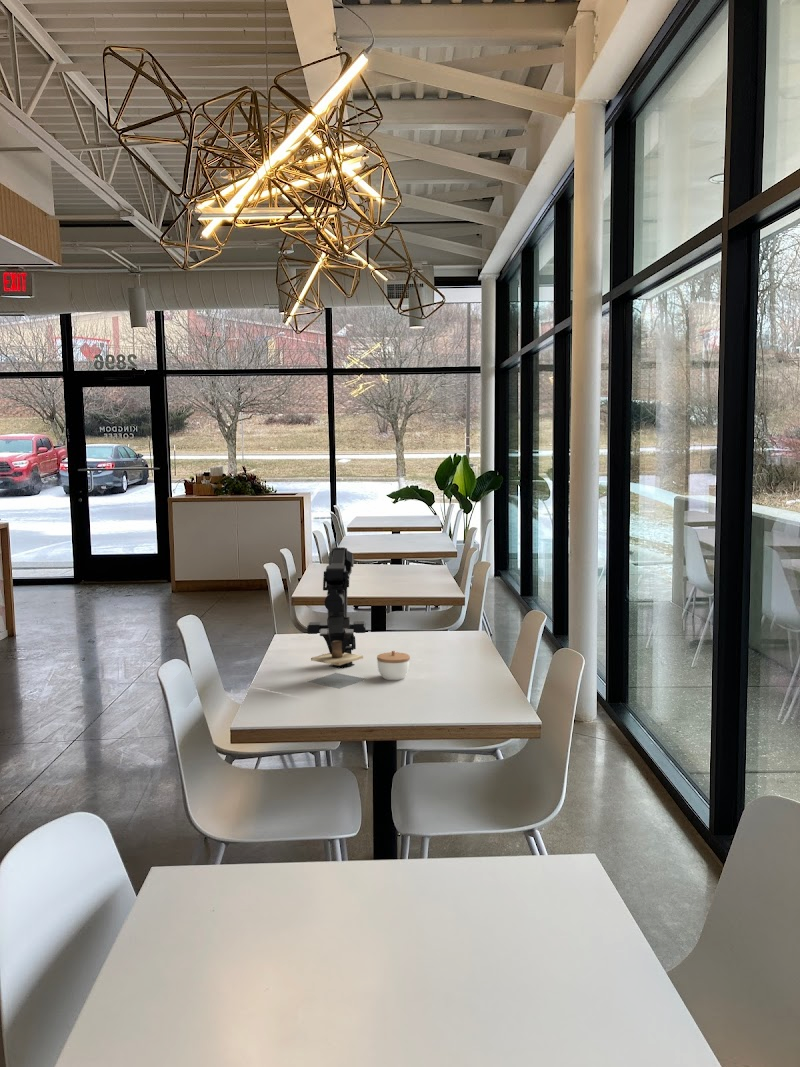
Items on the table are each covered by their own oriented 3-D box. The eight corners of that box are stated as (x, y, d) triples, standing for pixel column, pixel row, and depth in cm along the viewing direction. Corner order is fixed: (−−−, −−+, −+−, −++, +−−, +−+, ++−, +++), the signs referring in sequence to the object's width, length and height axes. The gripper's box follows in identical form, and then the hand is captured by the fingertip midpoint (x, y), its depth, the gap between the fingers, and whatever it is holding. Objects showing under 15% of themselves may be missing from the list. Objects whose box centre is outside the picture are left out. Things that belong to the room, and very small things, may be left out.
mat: (307, 682, 289) (307, 681, 288) (335, 673, 300) (335, 672, 300) (339, 689, 280) (339, 688, 280) (367, 680, 291) (367, 678, 291)
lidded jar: (411, 675, 297) (411, 647, 296) (408, 683, 286) (408, 655, 286) (379, 674, 298) (379, 647, 297) (375, 683, 288) (375, 654, 287)
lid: (310, 660, 288) (310, 642, 287) (335, 653, 297) (335, 636, 297) (338, 665, 281) (338, 647, 280) (363, 658, 290) (363, 640, 290)
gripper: (305, 611, 279) (306, 660, 280) (365, 610, 280) (366, 659, 281) (307, 605, 290) (308, 652, 291) (365, 604, 291) (365, 651, 292)
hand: (337, 653), depth 289 cm, fingers closed on lid, 4 cm apart
